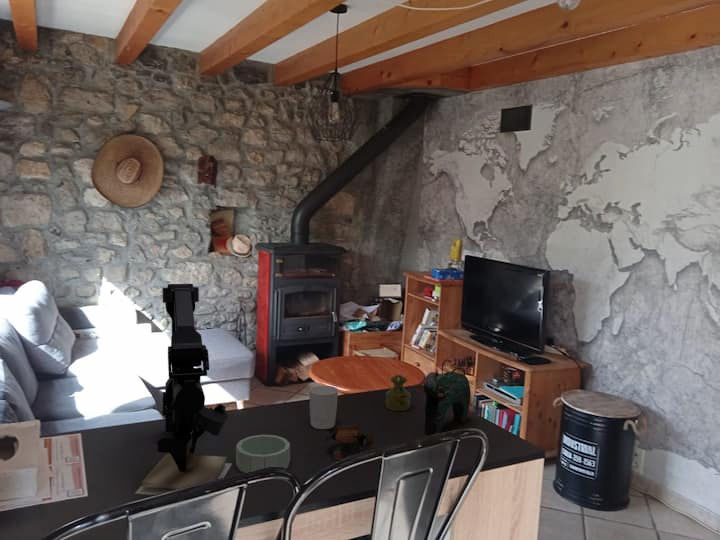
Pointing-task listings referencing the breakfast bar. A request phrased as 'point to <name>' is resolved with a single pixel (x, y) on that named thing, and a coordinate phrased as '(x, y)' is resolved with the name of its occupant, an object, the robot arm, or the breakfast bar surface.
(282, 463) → the bowl
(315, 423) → the white cup
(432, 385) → the green elephant figurine
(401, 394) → the olive green bottle-shaped piece
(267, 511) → the breakfast bar surface
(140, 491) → the mat
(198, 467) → the lid
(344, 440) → the brown piece
